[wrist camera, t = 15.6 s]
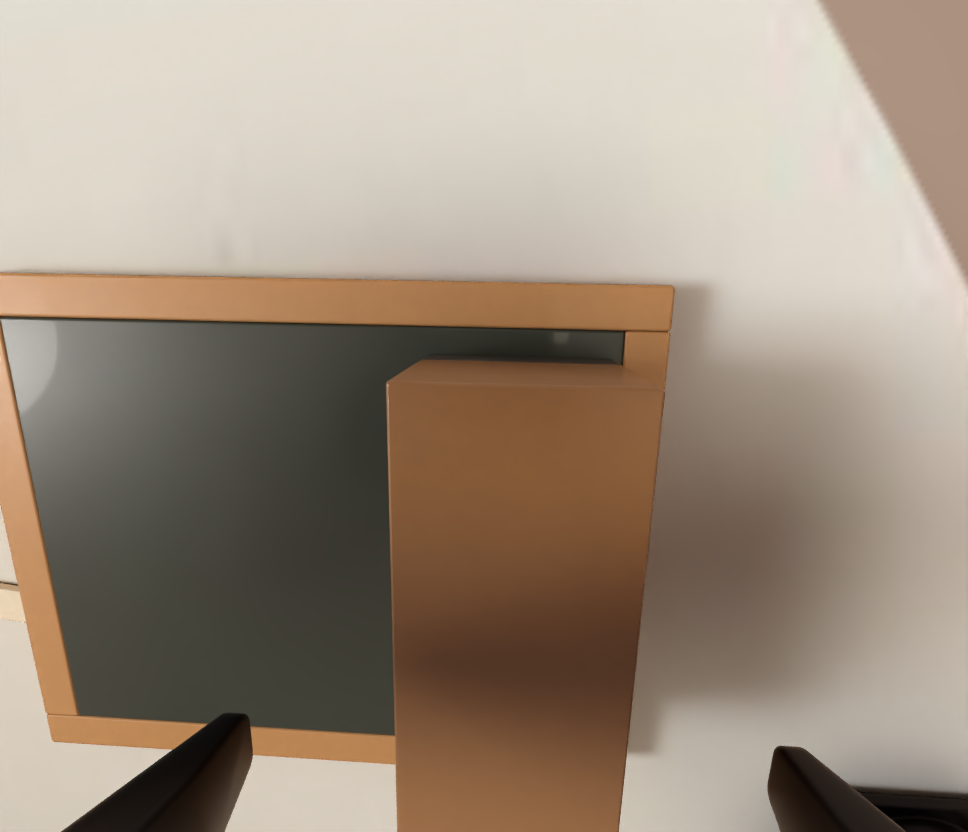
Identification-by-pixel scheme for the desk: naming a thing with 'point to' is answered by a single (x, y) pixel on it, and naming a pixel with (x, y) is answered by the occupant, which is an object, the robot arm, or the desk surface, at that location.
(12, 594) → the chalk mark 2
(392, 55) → the desk surface
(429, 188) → the desk surface
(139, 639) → the chalkboard
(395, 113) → the desk surface
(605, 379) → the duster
